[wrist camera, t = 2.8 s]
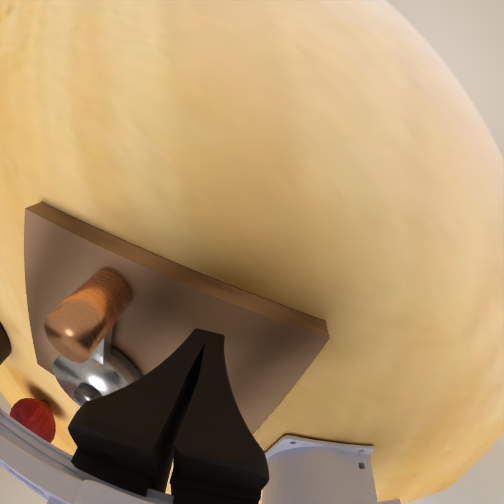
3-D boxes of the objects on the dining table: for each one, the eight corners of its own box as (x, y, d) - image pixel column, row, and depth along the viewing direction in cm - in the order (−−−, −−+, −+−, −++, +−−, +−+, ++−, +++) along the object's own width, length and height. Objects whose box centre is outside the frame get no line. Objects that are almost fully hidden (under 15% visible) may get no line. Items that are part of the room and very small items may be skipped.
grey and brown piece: (140, 412, 17) (121, 457, 13) (70, 376, 17) (44, 414, 13) (167, 296, 13) (131, 355, 9) (67, 248, 12) (13, 285, 8)
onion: (22, 377, 21) (-12, 421, 14) (57, 398, 22) (24, 450, 14) (37, 405, 24) (9, 447, 16) (71, 425, 24) (45, 471, 16)
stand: (325, 321, 15) (338, 381, 11) (236, 439, 20) (230, 483, 16) (41, 201, 13) (-12, 224, 9) (46, 353, 19) (19, 385, 14)
